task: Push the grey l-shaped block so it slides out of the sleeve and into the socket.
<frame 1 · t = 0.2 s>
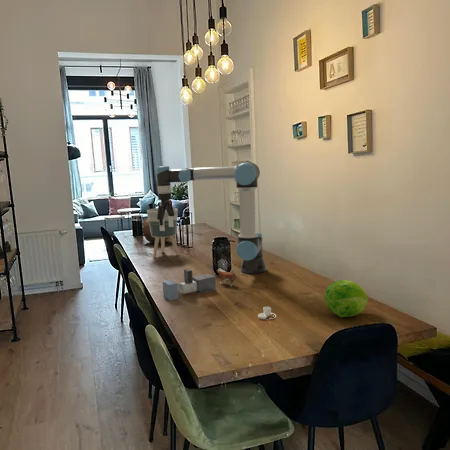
hand: (166, 228, 259), 28 cm above the table, fingers open, 13 cm apart
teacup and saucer: (260, 317, 191), on the table
pottery: (157, 243, 362), on the table
bull figurine: (226, 284, 240), on the table
sleeve: (204, 283, 230), on the table
socket: (170, 289, 220), on the table
lettuce: (347, 315, 188), on the table
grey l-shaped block: (195, 279, 227), point 7 cm above the table, slide at 0.0 cm
planter: (165, 255, 317), on the table
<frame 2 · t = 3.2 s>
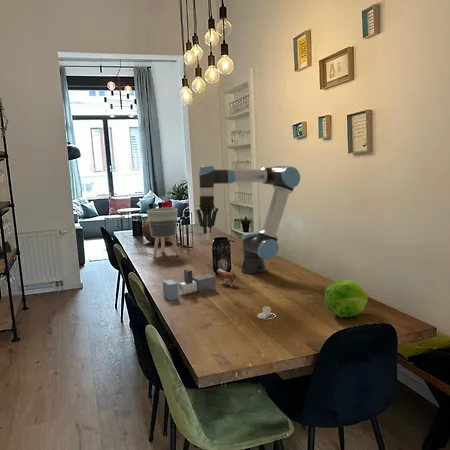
hand: (207, 239, 234), 25 cm above the table, fingers closed
nothing on the table moved.
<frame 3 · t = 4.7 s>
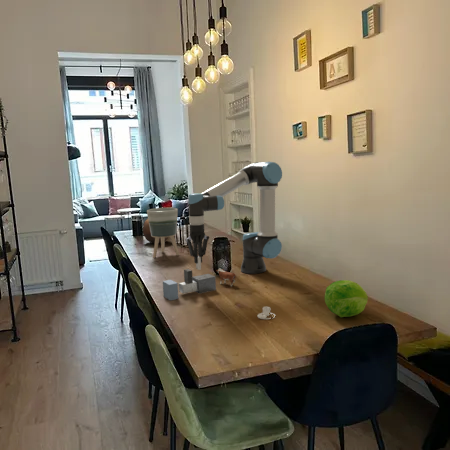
hand: (198, 269, 227), 12 cm above the table, fingers closed
nothing on the table moved.
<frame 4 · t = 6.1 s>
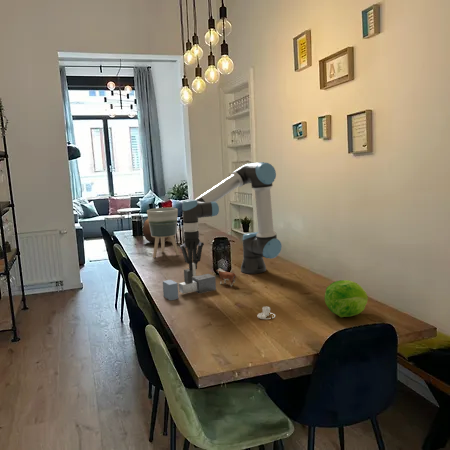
hand: (193, 275, 226), 9 cm above the table, fingers closed
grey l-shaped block: (195, 279, 227), point 7 cm above the table, slide at 0.0 cm, touching gripper
everything else where it was.
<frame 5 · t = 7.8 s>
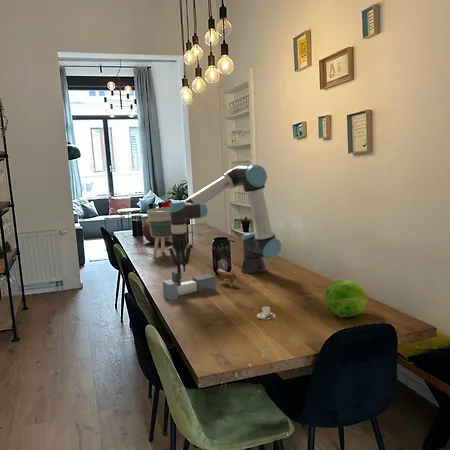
hand: (181, 278, 223), 9 cm above the table, fingers closed
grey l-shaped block: (183, 281, 223), point 7 cm above the table, slide at 6.8 cm, touching gripper
everything else where it was.
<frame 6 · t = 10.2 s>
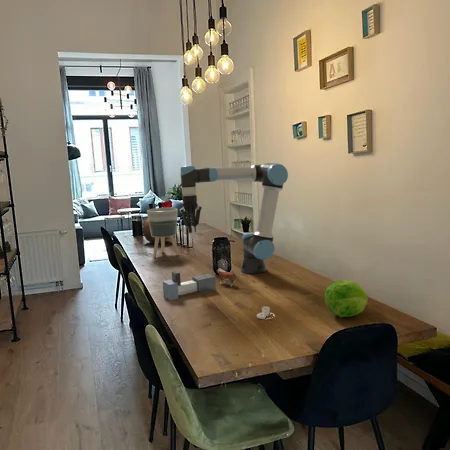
hand: (192, 238, 237), 26 cm above the table, fingers closed
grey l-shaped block: (183, 281, 223), point 7 cm above the table, slide at 6.8 cm, touching socket
everything else where it was.
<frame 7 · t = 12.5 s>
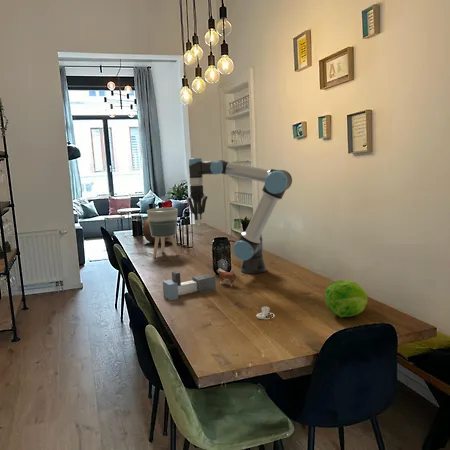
hand: (198, 225, 258), 29 cm above the table, fingers closed
nothing on the table moved.
at the end: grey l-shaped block slide at 6.8 cm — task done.
